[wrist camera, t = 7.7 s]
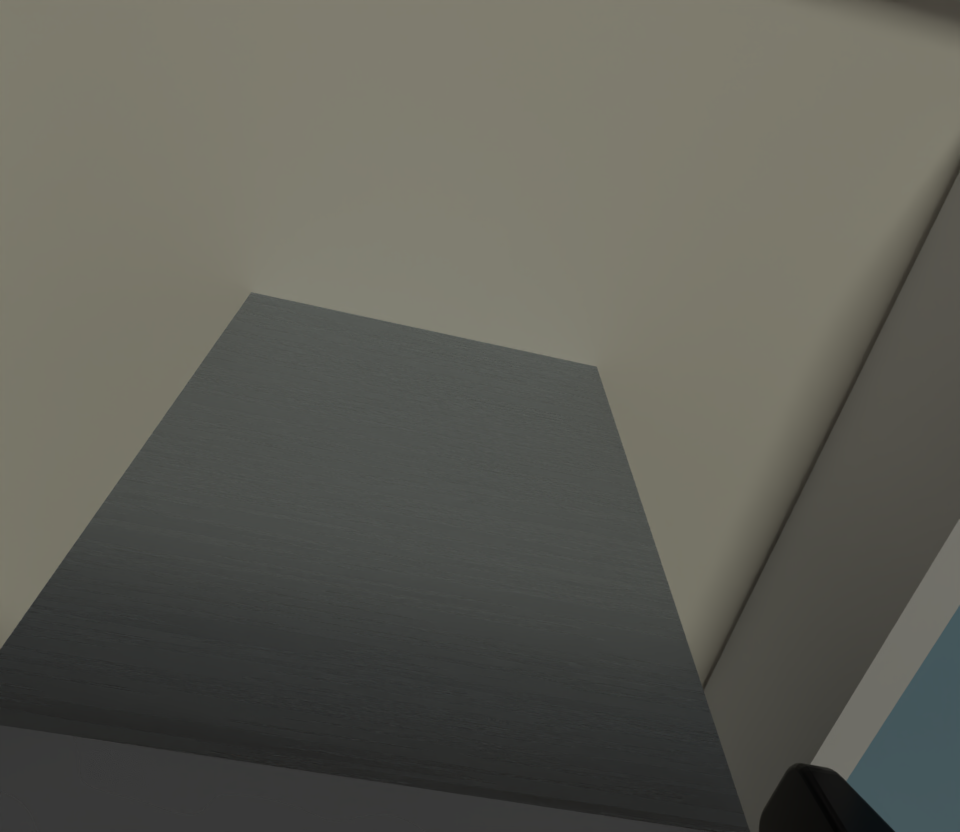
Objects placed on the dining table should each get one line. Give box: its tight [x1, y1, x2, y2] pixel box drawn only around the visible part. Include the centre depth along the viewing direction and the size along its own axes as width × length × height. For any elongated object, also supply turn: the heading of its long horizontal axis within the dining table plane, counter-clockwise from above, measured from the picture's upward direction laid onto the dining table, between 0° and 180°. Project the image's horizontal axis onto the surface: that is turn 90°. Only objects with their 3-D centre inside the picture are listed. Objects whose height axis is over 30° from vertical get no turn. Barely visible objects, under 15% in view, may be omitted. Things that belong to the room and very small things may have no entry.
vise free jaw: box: [704, 172, 960, 832], centre depth 10 cm, size 2×14×2 cm, turn 167°
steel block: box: [0, 292, 750, 832], centre depth 8 cm, size 4×6×6 cm, turn 167°
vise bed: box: [0, 0, 960, 690], centre depth 10 cm, size 19×18×4 cm
